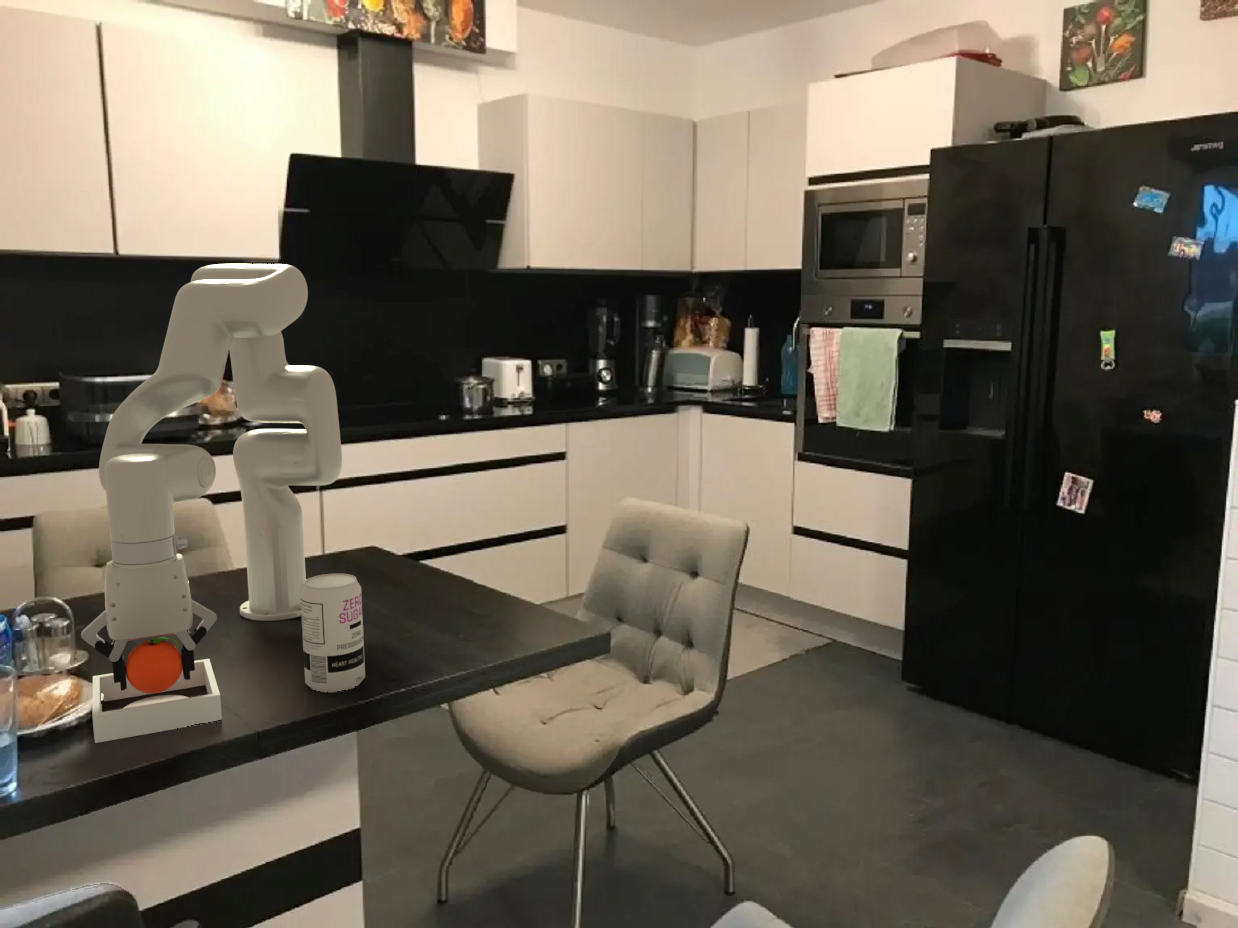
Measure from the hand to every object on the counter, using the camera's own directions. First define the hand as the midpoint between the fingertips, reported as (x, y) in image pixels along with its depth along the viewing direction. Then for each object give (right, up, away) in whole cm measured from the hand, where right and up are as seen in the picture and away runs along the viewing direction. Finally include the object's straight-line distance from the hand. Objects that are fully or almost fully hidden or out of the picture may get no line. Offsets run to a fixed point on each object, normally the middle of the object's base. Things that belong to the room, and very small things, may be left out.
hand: (155, 680), depth 134 cm
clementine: (0, -1, +1) cm, 2 cm away
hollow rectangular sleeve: (0, -4, +1) cm, 4 cm away
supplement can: (+21, -3, +10) cm, 23 cm away
